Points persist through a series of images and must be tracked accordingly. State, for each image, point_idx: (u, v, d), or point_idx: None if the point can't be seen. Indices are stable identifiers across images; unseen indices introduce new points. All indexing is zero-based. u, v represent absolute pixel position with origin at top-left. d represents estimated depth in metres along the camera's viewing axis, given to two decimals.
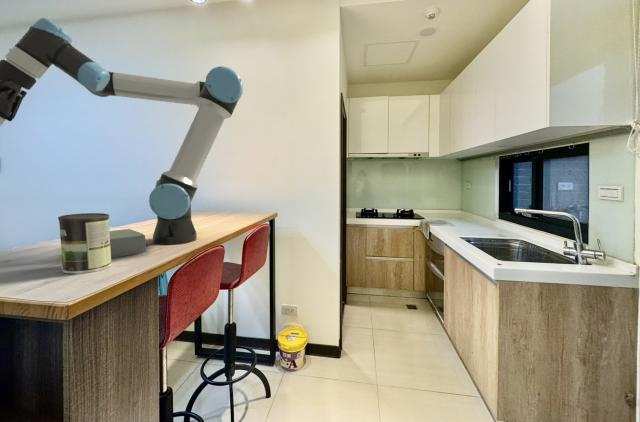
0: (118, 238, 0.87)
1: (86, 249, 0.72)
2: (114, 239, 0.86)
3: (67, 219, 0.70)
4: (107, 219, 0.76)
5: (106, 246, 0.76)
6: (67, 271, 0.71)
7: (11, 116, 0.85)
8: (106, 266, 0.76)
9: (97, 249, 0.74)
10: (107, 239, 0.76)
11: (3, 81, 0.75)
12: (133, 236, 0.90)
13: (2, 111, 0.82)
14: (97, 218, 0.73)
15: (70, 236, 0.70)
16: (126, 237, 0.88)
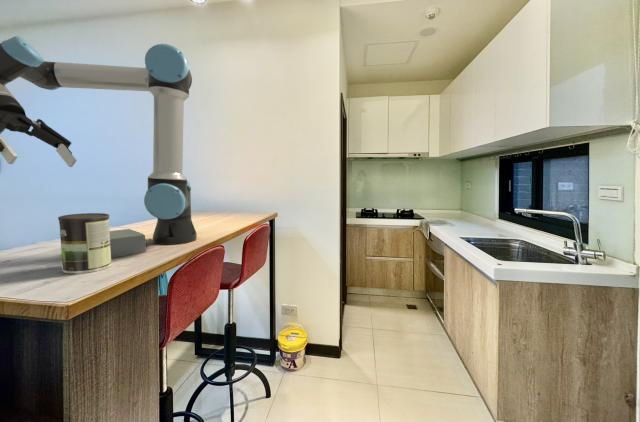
0: (118, 238, 0.87)
1: (86, 249, 0.72)
2: (114, 239, 0.86)
3: (67, 219, 0.70)
4: (107, 219, 0.76)
5: (106, 246, 0.76)
6: (67, 271, 0.71)
7: None
8: (106, 266, 0.76)
9: (97, 249, 0.74)
10: (107, 239, 0.76)
11: None
12: (133, 236, 0.90)
13: (53, 142, 0.82)
14: (97, 218, 0.73)
15: (70, 236, 0.70)
16: (126, 237, 0.88)
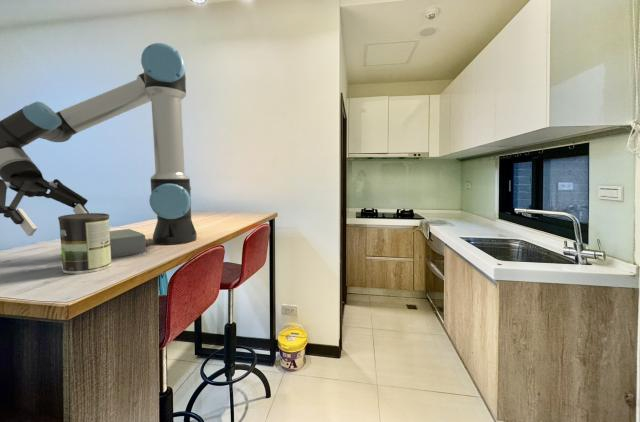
0: (118, 238, 0.87)
1: (86, 249, 0.72)
2: (114, 239, 0.86)
3: (67, 219, 0.70)
4: (107, 219, 0.76)
5: (106, 246, 0.76)
6: (67, 271, 0.71)
7: None
8: (106, 266, 0.76)
9: (97, 249, 0.74)
10: (107, 239, 0.76)
11: (11, 180, 0.73)
12: (133, 236, 0.90)
13: (70, 202, 0.82)
14: (97, 218, 0.73)
15: (70, 236, 0.70)
16: (126, 237, 0.88)
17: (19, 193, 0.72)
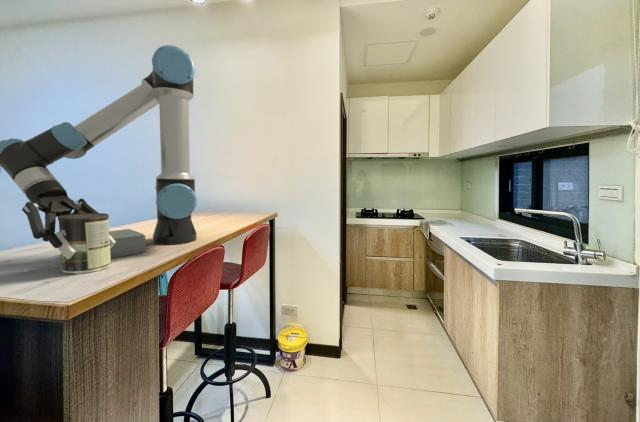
0: (118, 238, 0.87)
1: (85, 248, 0.72)
2: (114, 239, 0.86)
3: (67, 219, 0.70)
4: (107, 219, 0.76)
5: (106, 246, 0.76)
6: (66, 271, 0.71)
7: None
8: (106, 266, 0.76)
9: (97, 249, 0.73)
10: (107, 239, 0.76)
11: (38, 201, 0.72)
12: (133, 236, 0.90)
13: None
14: (97, 218, 0.73)
15: (69, 235, 0.70)
16: (126, 237, 0.88)
17: (51, 215, 0.72)
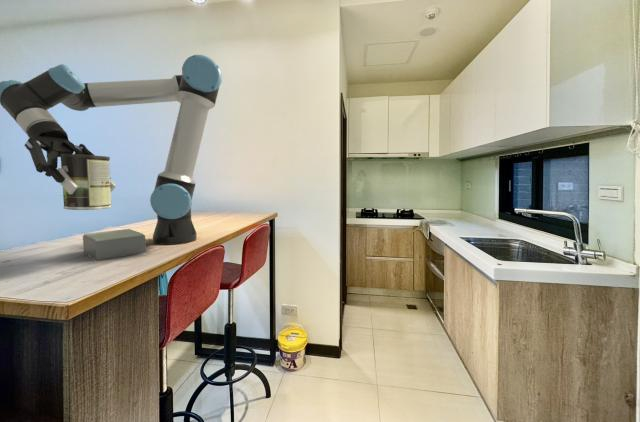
0: (118, 238, 0.87)
1: (87, 185, 0.73)
2: (114, 239, 0.86)
3: (69, 155, 0.71)
4: (108, 160, 0.78)
5: (107, 186, 0.78)
6: (68, 207, 0.73)
7: None
8: (106, 206, 0.78)
9: (98, 187, 0.75)
10: (107, 180, 0.78)
11: (40, 139, 0.74)
12: (133, 236, 0.90)
13: None
14: (98, 157, 0.75)
15: (71, 171, 0.72)
16: (126, 237, 0.88)
17: (53, 153, 0.74)
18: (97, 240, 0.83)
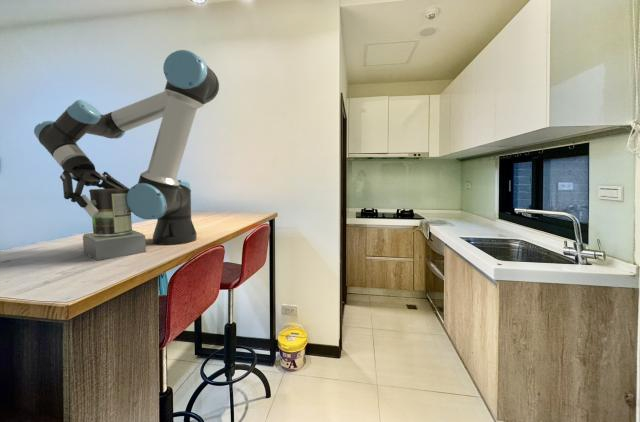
0: (118, 238, 0.87)
1: (112, 215, 0.86)
2: (114, 239, 0.86)
3: (97, 190, 0.84)
4: None
5: (128, 215, 0.91)
6: (97, 234, 0.86)
7: None
8: (128, 232, 0.91)
9: (121, 216, 0.88)
10: (129, 209, 0.91)
11: (73, 172, 0.87)
12: (133, 236, 0.90)
13: None
14: (120, 190, 0.88)
15: (99, 204, 0.85)
16: (126, 237, 0.88)
17: (81, 182, 0.86)
18: (97, 240, 0.83)
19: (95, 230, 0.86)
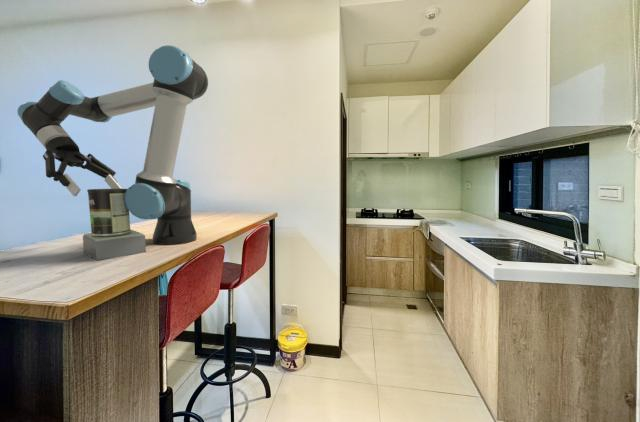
0: (118, 238, 0.87)
1: (110, 215, 0.86)
2: (114, 239, 0.86)
3: (95, 190, 0.84)
4: None
5: (126, 214, 0.91)
6: (95, 234, 0.86)
7: None
8: (126, 231, 0.91)
9: (119, 216, 0.88)
10: (127, 209, 0.91)
11: (56, 152, 0.88)
12: (133, 236, 0.90)
13: (102, 173, 0.97)
14: (119, 190, 0.88)
15: (97, 204, 0.85)
16: (126, 237, 0.88)
17: (64, 162, 0.87)
18: (97, 240, 0.83)
19: (93, 230, 0.86)
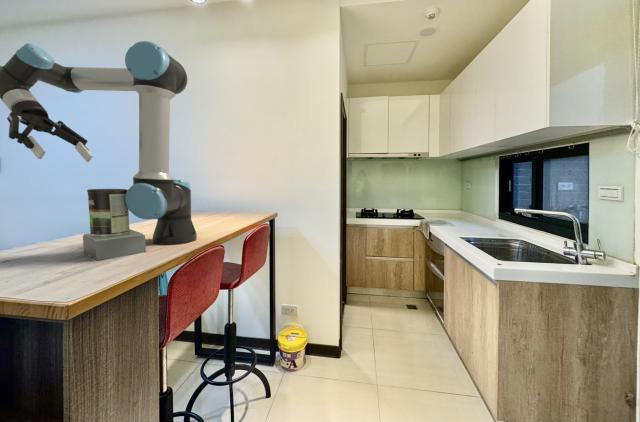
0: (118, 238, 0.87)
1: (110, 216, 0.86)
2: (114, 239, 0.86)
3: (95, 191, 0.84)
4: None
5: (126, 215, 0.91)
6: (94, 234, 0.86)
7: None
8: (125, 232, 0.91)
9: (119, 217, 0.88)
10: (126, 210, 0.91)
11: (22, 115, 0.85)
12: (133, 236, 0.90)
13: (72, 140, 0.95)
14: (118, 191, 0.88)
15: (97, 205, 0.85)
16: (126, 237, 0.88)
17: (29, 125, 0.84)
18: (97, 240, 0.83)
19: (92, 230, 0.86)
